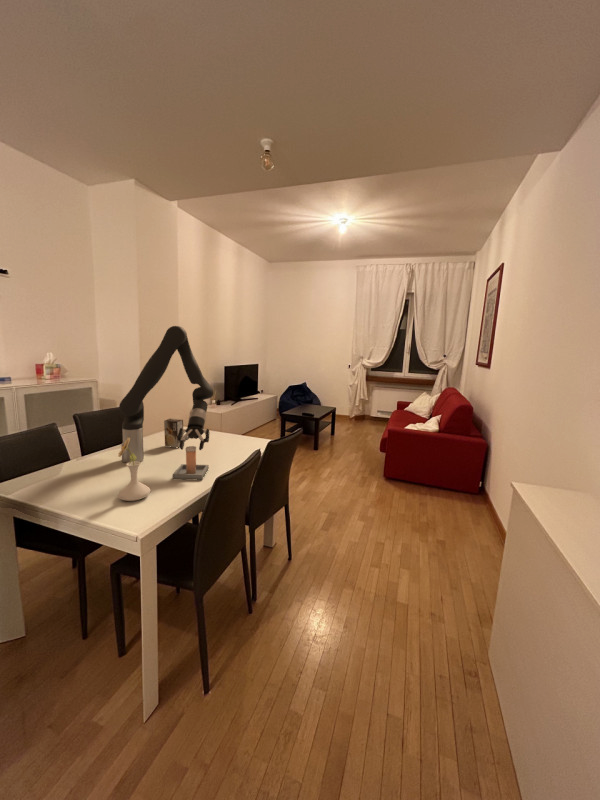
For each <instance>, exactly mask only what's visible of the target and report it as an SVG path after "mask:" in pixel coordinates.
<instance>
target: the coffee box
mask: <svg viewBox="0 0 600 800" xmlns="http://www.w3.org/2000/svg"><path fill="white" fill-rule="evenodd" d="M163 427H164V430H163V431H164V447H165V446H171V447H179V446H180V442H179V441H178V439H177V436H178V433H179V430H180V428H182V429H184V419H178V418H168V419H165V420H163ZM183 436H184V434H183V435H182V437H183Z"/></svg>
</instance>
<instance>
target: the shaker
mask: <svg viewBox="0 0 600 800" xmlns="http://www.w3.org/2000/svg"><path fill="white" fill-rule="evenodd" d="M185 464H186V474H195V473H196V465H197V447H196V446H194V445H192V446H191V445H190V446H186V447H185Z"/></svg>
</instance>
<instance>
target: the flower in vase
mask: <svg viewBox="0 0 600 800" xmlns="http://www.w3.org/2000/svg"><path fill="white" fill-rule="evenodd" d="M129 441H130V437H129V439H128V438H127V441H126V440H125V443H124V446H122V447H121V446H120V447H121V448H120V451H119V452H118V457H119V458H120V457H121V458H122V454H123V453H124V451H125V450H126V449H128V447H127V446H128V444H129ZM121 449H122V450H121ZM128 450H129V449H128ZM129 452H130V450H129ZM130 454H131V455H130V457H129V458H130V459H131V461H130V462H129V463H125V464H126V467H128V469H129V473H130V481H129V482H128V484H127V485H125V486H124V487H123V488H122V489H121V490H119V492H118V494H117V497H118V498H119V499H120V500H122V501H129V502H131V501H132V502H133V501H134V502H135V501H139V500H141V499H144V498H146V497H148V496H149V495H150V493H151V489H150V487H148V486H147V485H146V484H145V483H142V482H140V481H139V479H138V469H139V467H140V465H141V462H142V461H141V462H138V461H135V460H136V459H137V457H136V456H135V455H134V453H131V452H130ZM132 461H133V462H132Z"/></svg>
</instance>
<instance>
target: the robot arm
mask: <svg viewBox="0 0 600 800" xmlns="http://www.w3.org/2000/svg"><path fill="white" fill-rule="evenodd" d="M176 351H177V352H178V354H179V357H180V359H181V362H182V365H183V369H184V372H185V374H186V376H187V378H188V380H189V382H190V383H191V384H192V385H198V386H199V387H198V386H197V387H196V388H194V390H193V391H192V409H191V412H190V414H189V418H188V419H189V420H188V423H187V426H186V427H187V428H185V429H184V428H183V429H182V428H180V430H179V433H178V436H177V439H178V441H179V442H180V446H179V447H180V450H182V451H183V450H184V447H185V442H186V441H188V440H190V439H191V440H192V439H195V440H197V439H199V441H200V443H199V447H198V449H199V451H202V450H203V449H204V445H205V443H209V441H210V429H209V428H207V429H204V427H205V425H206V418H207V411H208V403H207V401H205V400H208V399H211V398H212V397H213V396H214V389H213V387H212V385H210V383H209V381H207V380H206V378H205V377H204V374H203V373H202V371H201V368H200V366H199V364H198V362H197V360H196V359H195V355H194V353H193V351H192V348H191V345H190V342H189V339H188V334H187V331H186V330H185V329H184V327H182V326H179V325H172V326H170V327H168V328H167V330H166V332H165V334H164V335H163V338H162V340H161V342H160V343H159V346H158V347H157V348H156V350H155V351H154V352H153V354H152V355H151V356H150V357H149V359H148V361H147V362H146V363H145V364H144V367H142V370H141V371H140V373H139V375H138V376H137V378H136V380H135V382H134V383H133V385H132V387H131V388H130V389H129V391H128V392H127V394H126V395H125V396H124V397H123V398H122V400H121V401H120V402H119V405H118V407H119V408H118V410H119V413H120V414H122V415H123V416H124V419H123V421H122V423H121V427H122V429H121V430H122V443H121V444H120V447H122V446H124V443H125V440H126V441H127V438H128V439H129V437H130V441H129V444H128V446H127V447H128V449H129V450H130V452H131V453H134V455H135V456H136V457H137V459H136V460H135V461H138V462H140V461H141V462H143V461H144V460H143V459H145V458H144V456H145V455H144V453H145V452H144V432H143V431H144V428H143V427H144V426H143V425H144V420H145V419H144V418H145V406H144V402H143V401H144V400H145V398H146V396H147V395H148V394H149V392H151V390H152V389H154V387H155V386H156V385H157V384H158V383H159V381H160V380H161V378H163V375H164V374H165V372H166V370H167V369H168V367H169V364H170V362H171V359H172V358H173V355H174V354H175V353H176ZM203 434H205V436H204V437H205V438H203V436H202V435H203ZM182 435H183V437H182ZM128 449H126V450H125V451H124V453H123V454H122V455H121V463H125V462H126V463H125V464H127V463H129V462H130V461H131V459H130V458H129V457H130V455H131V454H130V452H129V450H128ZM121 450H122V449H121V448H120V451H121ZM142 460H143V461H142ZM132 462H133V461H132Z"/></svg>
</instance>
